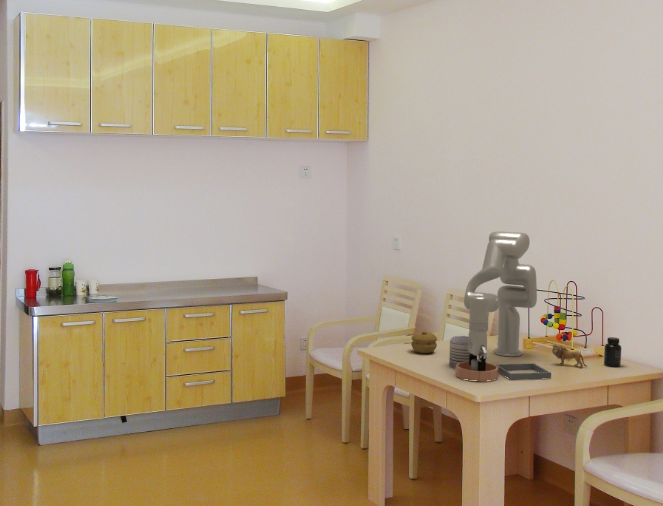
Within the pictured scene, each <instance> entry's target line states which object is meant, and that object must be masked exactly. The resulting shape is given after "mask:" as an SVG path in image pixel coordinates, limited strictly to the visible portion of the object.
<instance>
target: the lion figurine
mask: <svg viewBox="0 0 663 506" xmlns="http://www.w3.org/2000/svg"><path fill="white" fill-rule="evenodd" d="M551 352H552V354H553V355H554V356H555V357H556V358H557V359H560V361H561V362H560V363H559V366H560V365H561V366H560V367H564V366H565V360H575V361H576V364H574V365H573V366H574V367H578V366H579V365H580V366H579V369H583V367H586V368H587V367H588V366H587V364H585V362H584V357H583V354H582V353H581V352H580V351H571V350H568V349H567V348H565V347H564V346H562V345H560V344H558V343H557V344H553V345H552V349H551Z"/></svg>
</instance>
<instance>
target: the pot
mask: <svg viewBox="0 0 663 506" xmlns="http://www.w3.org/2000/svg"><path fill="white" fill-rule="evenodd" d="M437 338H438V337H437V336H436V335H435V333H432V332H428V331H426V330H423V331H420V332H415V333H414V334H412V336H411V340H412V342H411V344H410V345H411V348H412V350H414V351H415V352H416V353H420V354H430V353H433V352H434V351H435V350H436V349H437V346H438V345H437V344H438V343H437V341H438V339H437Z"/></svg>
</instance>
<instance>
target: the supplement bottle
mask: <svg viewBox="0 0 663 506" xmlns="http://www.w3.org/2000/svg"><path fill="white" fill-rule="evenodd" d="M606 341H607V343H606V344H605V345H604V349H603V350H604V351H603V352H604V353H603V365H604V366H605V367H609V368H620V367H621V362H622V346H621V345H620V338H618V337H611V336H609V337H607V340H606Z"/></svg>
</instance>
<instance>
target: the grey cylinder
mask: <svg viewBox="0 0 663 506" xmlns="http://www.w3.org/2000/svg"><path fill="white" fill-rule="evenodd" d="M478 361H479V359H478V358H477V359H472V360H471V370H472V371H478Z"/></svg>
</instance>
